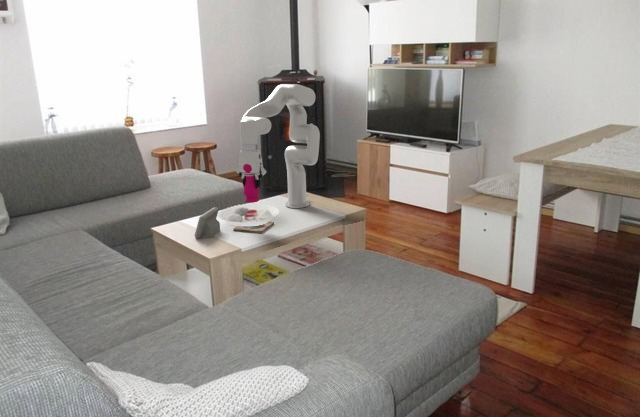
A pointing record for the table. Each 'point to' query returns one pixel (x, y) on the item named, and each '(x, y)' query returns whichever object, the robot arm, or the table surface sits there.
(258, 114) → the robot arm
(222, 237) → the table surface
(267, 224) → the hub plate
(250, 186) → the pepper mill
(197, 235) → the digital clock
